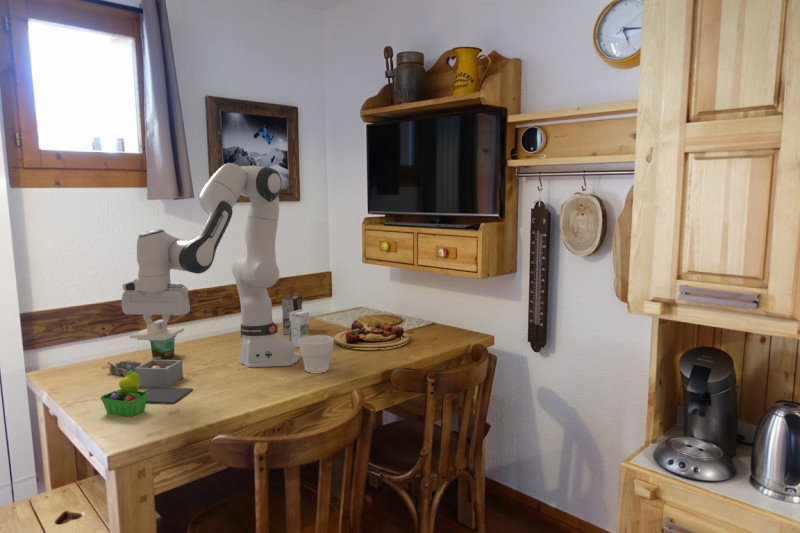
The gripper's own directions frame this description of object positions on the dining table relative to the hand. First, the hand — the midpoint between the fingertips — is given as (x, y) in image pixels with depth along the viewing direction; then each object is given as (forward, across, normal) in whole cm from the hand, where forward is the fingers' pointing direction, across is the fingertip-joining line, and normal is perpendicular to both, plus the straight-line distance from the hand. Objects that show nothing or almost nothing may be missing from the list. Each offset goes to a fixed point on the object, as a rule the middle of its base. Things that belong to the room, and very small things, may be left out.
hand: (157, 328), depth 174 cm
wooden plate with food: (+22, -54, -71) cm, 92 cm away
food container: (+21, +20, -40) cm, 50 cm away
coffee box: (+21, -16, -83) cm, 87 cm away
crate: (+21, +8, -13) cm, 26 cm away
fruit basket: (+22, +3, +12) cm, 25 cm away
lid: (+2, 0, 0) cm, 2 cm away
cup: (+21, -41, -30) cm, 55 cm away
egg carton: (+22, +26, -22) cm, 40 cm away
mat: (+21, 0, 0) cm, 21 cm away
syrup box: (+21, -26, -60) cm, 69 cm away
